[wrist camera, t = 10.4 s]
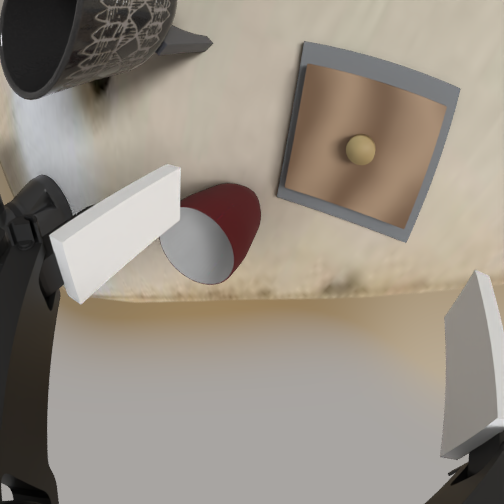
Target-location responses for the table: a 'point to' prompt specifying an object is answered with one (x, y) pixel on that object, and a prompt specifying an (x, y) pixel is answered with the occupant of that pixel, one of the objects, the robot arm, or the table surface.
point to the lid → (362, 143)
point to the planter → (85, 41)
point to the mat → (381, 73)
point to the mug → (213, 232)
